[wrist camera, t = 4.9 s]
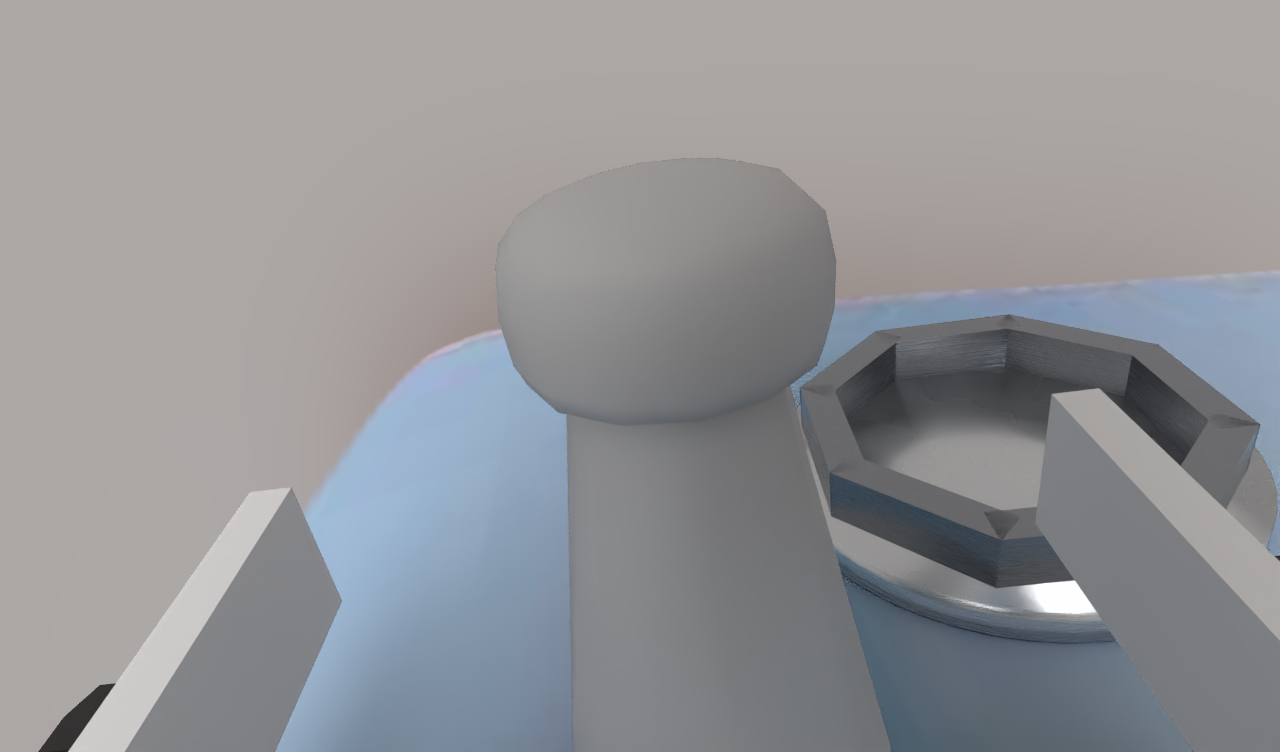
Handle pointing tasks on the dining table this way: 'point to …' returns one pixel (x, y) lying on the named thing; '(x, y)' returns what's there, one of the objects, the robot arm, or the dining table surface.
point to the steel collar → (997, 463)
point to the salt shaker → (690, 457)
